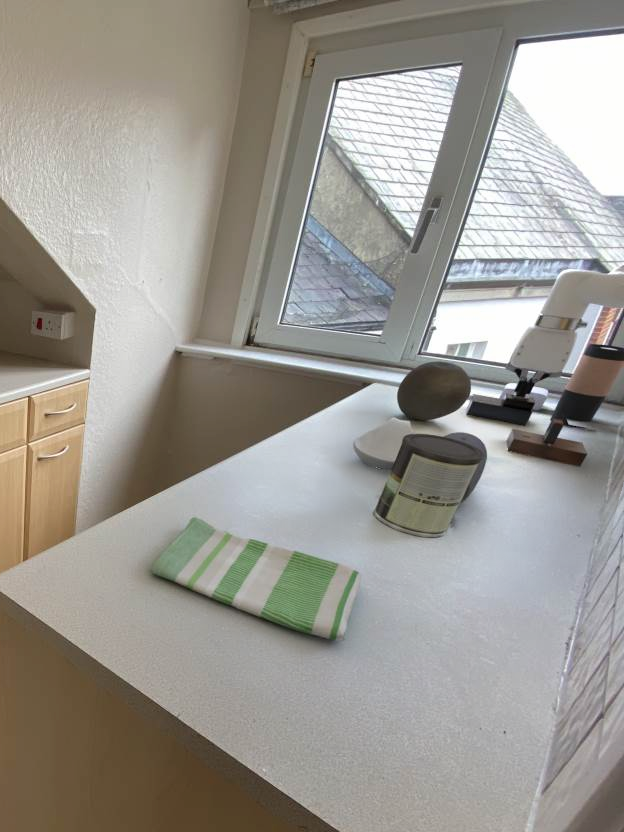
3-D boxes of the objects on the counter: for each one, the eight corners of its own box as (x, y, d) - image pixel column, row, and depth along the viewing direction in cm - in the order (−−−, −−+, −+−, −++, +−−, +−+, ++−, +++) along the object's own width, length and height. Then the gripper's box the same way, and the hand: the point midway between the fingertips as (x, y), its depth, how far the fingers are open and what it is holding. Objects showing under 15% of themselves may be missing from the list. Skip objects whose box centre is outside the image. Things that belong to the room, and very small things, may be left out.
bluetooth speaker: (419, 469, 113) (439, 423, 108) (476, 484, 107) (499, 437, 103) (393, 503, 98) (415, 453, 94) (458, 524, 93) (484, 470, 88)
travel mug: (543, 416, 148) (582, 342, 139) (580, 421, 145) (622, 346, 136) (555, 425, 142) (596, 348, 133) (594, 430, 139) (639, 352, 130)
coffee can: (358, 508, 96) (388, 433, 90) (408, 505, 98) (440, 432, 92) (408, 540, 87) (445, 459, 81) (462, 536, 89) (502, 457, 83)
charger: (543, 401, 162) (539, 411, 152) (502, 393, 167) (496, 403, 158) (551, 385, 160) (548, 395, 150) (509, 378, 165) (504, 387, 156)
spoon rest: (411, 483, 107) (426, 449, 103) (343, 465, 113) (354, 433, 110) (421, 449, 123) (434, 419, 120) (361, 435, 130) (372, 406, 126)
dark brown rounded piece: (385, 419, 141) (407, 362, 134) (392, 407, 151) (413, 353, 144) (453, 434, 133) (480, 373, 126) (456, 420, 142) (481, 363, 136)
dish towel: (191, 525, 89) (195, 511, 87) (358, 584, 76) (365, 567, 75) (147, 575, 76) (151, 559, 75) (339, 655, 63) (347, 637, 62)
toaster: (523, 418, 146) (534, 396, 144) (525, 426, 140) (536, 404, 137) (466, 407, 153) (476, 386, 150) (466, 415, 147) (475, 393, 144)
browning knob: (542, 436, 124) (553, 417, 122) (552, 438, 124) (563, 419, 121) (543, 442, 121) (554, 422, 119) (553, 444, 120) (564, 424, 118)
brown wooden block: (575, 454, 124) (582, 441, 122) (580, 466, 117) (588, 453, 116) (506, 440, 130) (512, 428, 129) (507, 451, 124) (514, 438, 123)
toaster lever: (524, 403, 143) (527, 395, 142) (524, 405, 141) (528, 398, 140) (510, 400, 144) (513, 393, 144) (510, 403, 143) (514, 395, 142)
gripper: (596, 326, 132) (557, 399, 140) (515, 317, 140) (483, 386, 149) (601, 330, 127) (560, 406, 135) (517, 320, 135) (483, 392, 144)
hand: (520, 395), depth 142 cm, fingers closed
